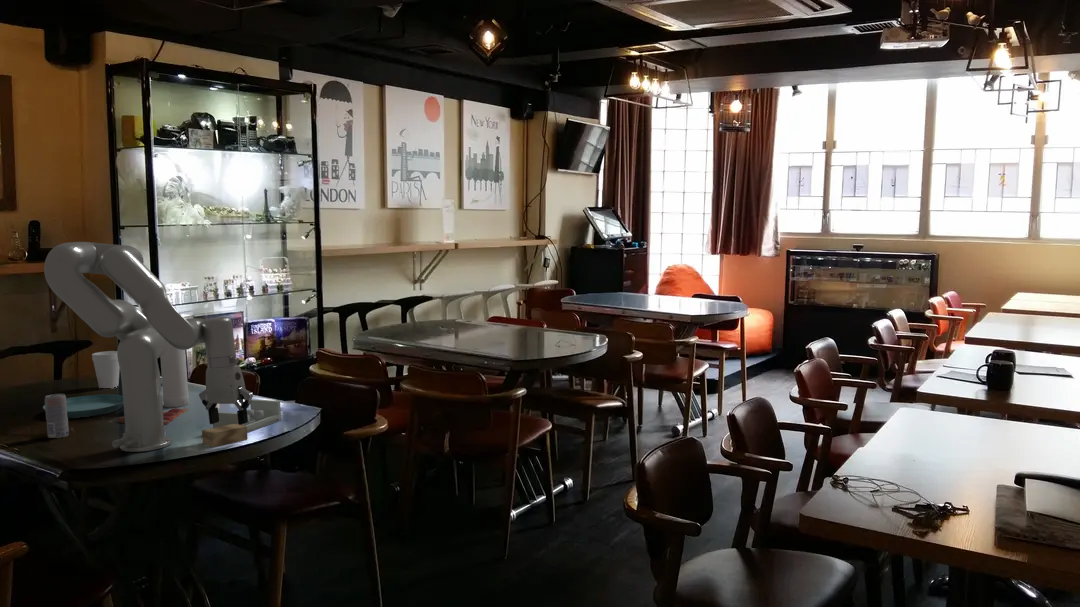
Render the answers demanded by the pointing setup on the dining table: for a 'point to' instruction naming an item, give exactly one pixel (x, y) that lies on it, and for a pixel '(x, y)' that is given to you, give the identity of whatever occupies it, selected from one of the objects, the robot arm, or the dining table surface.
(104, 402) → the saucer
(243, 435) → the oak plank
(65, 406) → the energy drink
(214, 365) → the robot arm
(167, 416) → the billiard ball rack
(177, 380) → the bottle
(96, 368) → the foam cup
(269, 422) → the peg frame
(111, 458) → the dining table surface
